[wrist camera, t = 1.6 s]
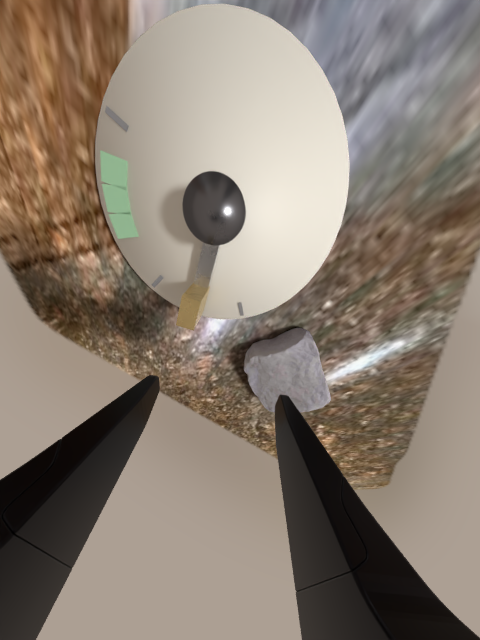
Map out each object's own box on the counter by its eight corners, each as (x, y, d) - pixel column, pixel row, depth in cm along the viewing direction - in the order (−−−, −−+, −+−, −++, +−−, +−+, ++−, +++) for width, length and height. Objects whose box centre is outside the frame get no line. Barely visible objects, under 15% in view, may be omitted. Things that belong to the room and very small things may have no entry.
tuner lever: (200, 171, 14) (183, 153, 10) (253, 193, 14) (255, 184, 11) (175, 309, 20) (159, 328, 16) (213, 321, 20) (206, 342, 17)
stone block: (266, 390, 30) (330, 385, 26) (262, 417, 26) (336, 416, 22) (238, 335, 26) (311, 319, 22) (229, 358, 22) (315, 344, 18)
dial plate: (358, -40, 10) (370, -68, 9) (335, 300, 20) (339, 304, 19) (46, 79, 13) (30, 68, 12) (162, 326, 23) (158, 331, 22)
